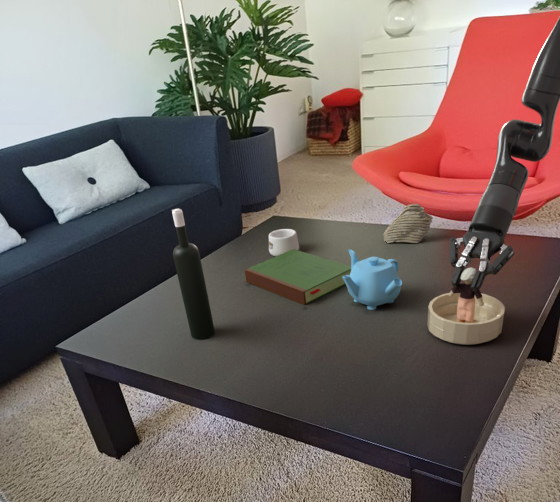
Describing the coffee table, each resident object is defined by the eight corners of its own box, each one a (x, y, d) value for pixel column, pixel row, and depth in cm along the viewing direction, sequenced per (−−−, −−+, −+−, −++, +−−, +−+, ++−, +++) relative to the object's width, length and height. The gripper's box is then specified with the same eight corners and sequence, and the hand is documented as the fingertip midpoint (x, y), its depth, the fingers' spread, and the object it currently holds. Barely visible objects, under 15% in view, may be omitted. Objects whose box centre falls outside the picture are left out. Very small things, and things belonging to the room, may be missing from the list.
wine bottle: (217, 327, 128) (194, 204, 111) (210, 339, 123) (184, 213, 107) (195, 327, 129) (169, 206, 113) (187, 339, 125) (158, 214, 108)
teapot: (337, 311, 129) (335, 268, 122) (349, 287, 139) (348, 247, 133) (399, 315, 124) (401, 271, 117) (407, 290, 134) (409, 248, 128)
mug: (304, 252, 164) (303, 233, 161) (277, 260, 161) (274, 241, 158) (287, 242, 173) (286, 224, 170) (261, 249, 170) (259, 231, 167)
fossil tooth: (384, 241, 168) (433, 236, 164) (383, 247, 163) (433, 242, 159) (381, 205, 162) (432, 198, 158) (380, 210, 157) (432, 204, 153)
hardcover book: (246, 282, 149) (244, 269, 147) (294, 260, 159) (293, 249, 157) (306, 306, 133) (305, 292, 131) (356, 280, 142) (355, 267, 140)
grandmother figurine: (483, 320, 114) (491, 267, 107) (479, 329, 112) (487, 274, 105) (448, 314, 118) (453, 262, 111) (443, 322, 115) (448, 269, 108)
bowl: (512, 323, 116) (516, 300, 112) (483, 354, 106) (486, 331, 103) (446, 307, 125) (448, 286, 122) (414, 335, 115) (415, 313, 112)
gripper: (458, 199, 110) (427, 274, 110) (527, 207, 102) (494, 288, 101) (466, 216, 116) (437, 288, 116) (532, 225, 108) (501, 302, 107)
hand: (464, 287), depth 109 cm, fingers closed on grandmother figurine, 3 cm apart
